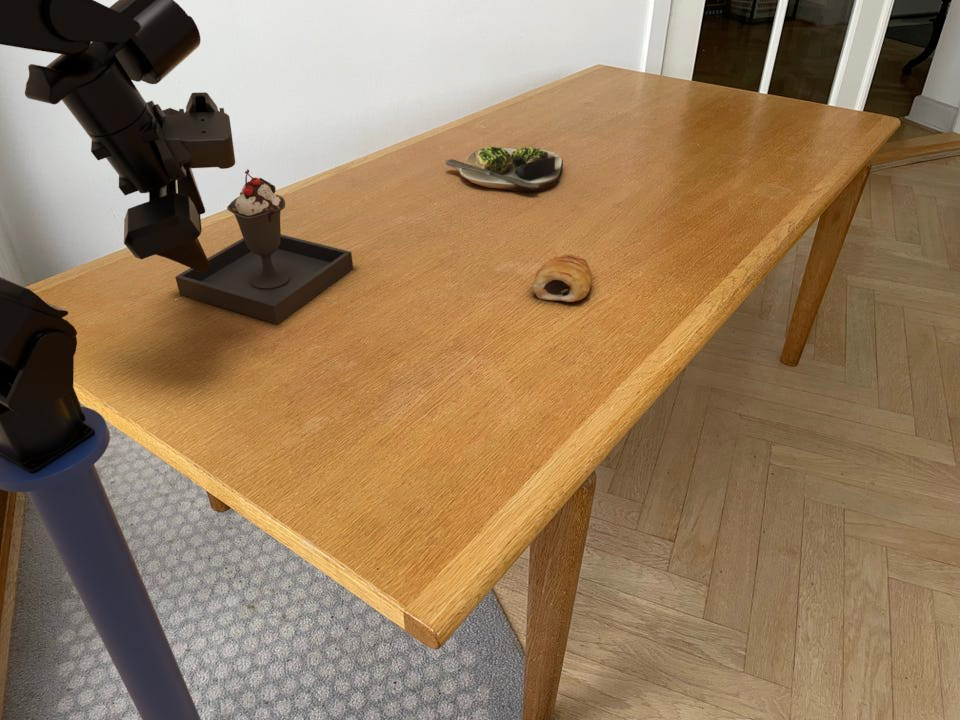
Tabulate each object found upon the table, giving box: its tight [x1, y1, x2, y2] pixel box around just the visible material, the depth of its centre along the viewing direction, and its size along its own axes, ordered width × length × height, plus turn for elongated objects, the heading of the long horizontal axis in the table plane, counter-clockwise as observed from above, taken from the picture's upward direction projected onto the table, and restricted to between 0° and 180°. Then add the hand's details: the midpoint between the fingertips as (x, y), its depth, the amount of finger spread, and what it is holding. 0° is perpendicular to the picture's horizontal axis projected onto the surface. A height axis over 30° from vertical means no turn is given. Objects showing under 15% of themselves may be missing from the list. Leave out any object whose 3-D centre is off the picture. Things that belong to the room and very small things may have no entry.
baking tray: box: [175, 233, 354, 325], centre depth 91 cm, size 15×15×2 cm
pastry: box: [531, 253, 593, 303], centre depth 90 cm, size 9×7×4 cm
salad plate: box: [444, 145, 564, 193], centre depth 120 cm, size 19×18×5 cm
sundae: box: [226, 168, 290, 289], centre depth 87 cm, size 7×7×15 cm
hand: (203, 240), depth 76 cm, fingers open, 9 cm apart
